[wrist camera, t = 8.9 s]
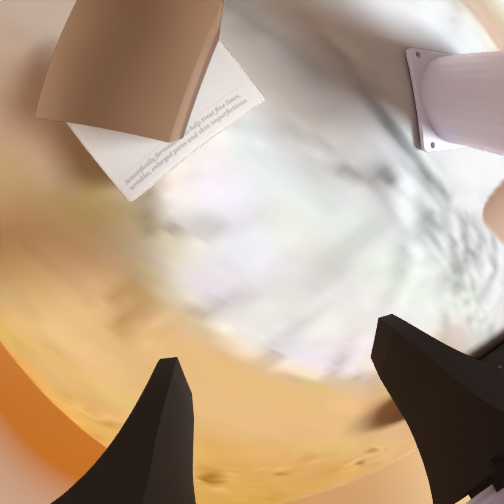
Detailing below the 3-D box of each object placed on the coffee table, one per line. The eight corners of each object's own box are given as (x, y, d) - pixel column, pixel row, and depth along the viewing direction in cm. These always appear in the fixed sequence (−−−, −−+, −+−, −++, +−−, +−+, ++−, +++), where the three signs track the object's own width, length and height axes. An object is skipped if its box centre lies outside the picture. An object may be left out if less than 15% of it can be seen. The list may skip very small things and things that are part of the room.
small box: (148, 186, 17) (127, 208, 12) (78, 96, 13) (37, 89, 9) (252, 109, 16) (269, 100, 11) (178, 17, 12) (169, -19, 8)
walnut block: (218, 41, 10) (223, 0, 6) (183, 138, 11) (168, 142, 7) (120, 23, 8) (85, -15, 4) (86, 117, 10) (34, 118, 6)
